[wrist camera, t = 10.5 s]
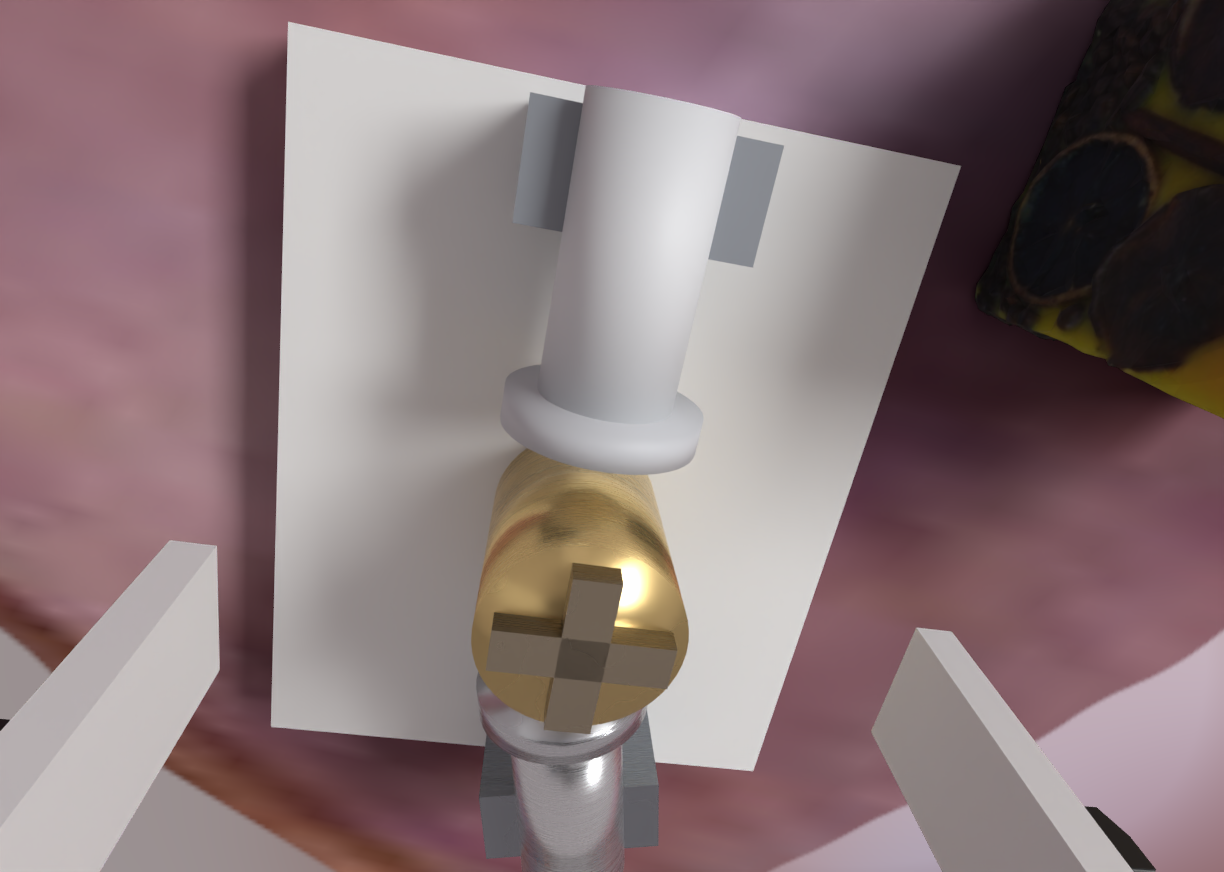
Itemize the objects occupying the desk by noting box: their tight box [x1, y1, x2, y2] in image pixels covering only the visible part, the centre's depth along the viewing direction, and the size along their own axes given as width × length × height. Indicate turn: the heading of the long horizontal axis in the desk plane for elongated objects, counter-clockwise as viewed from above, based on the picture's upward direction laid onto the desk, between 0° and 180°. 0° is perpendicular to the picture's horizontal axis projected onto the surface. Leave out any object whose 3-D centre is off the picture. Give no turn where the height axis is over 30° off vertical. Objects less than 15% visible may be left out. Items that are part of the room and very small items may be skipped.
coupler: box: [471, 448, 689, 734], centre depth 18 cm, size 5×5×7 cm
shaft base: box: [271, 22, 961, 771], centre depth 19 cm, size 20×16×8 cm
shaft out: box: [476, 672, 659, 872], centre depth 21 cm, size 7×5×6 cm
